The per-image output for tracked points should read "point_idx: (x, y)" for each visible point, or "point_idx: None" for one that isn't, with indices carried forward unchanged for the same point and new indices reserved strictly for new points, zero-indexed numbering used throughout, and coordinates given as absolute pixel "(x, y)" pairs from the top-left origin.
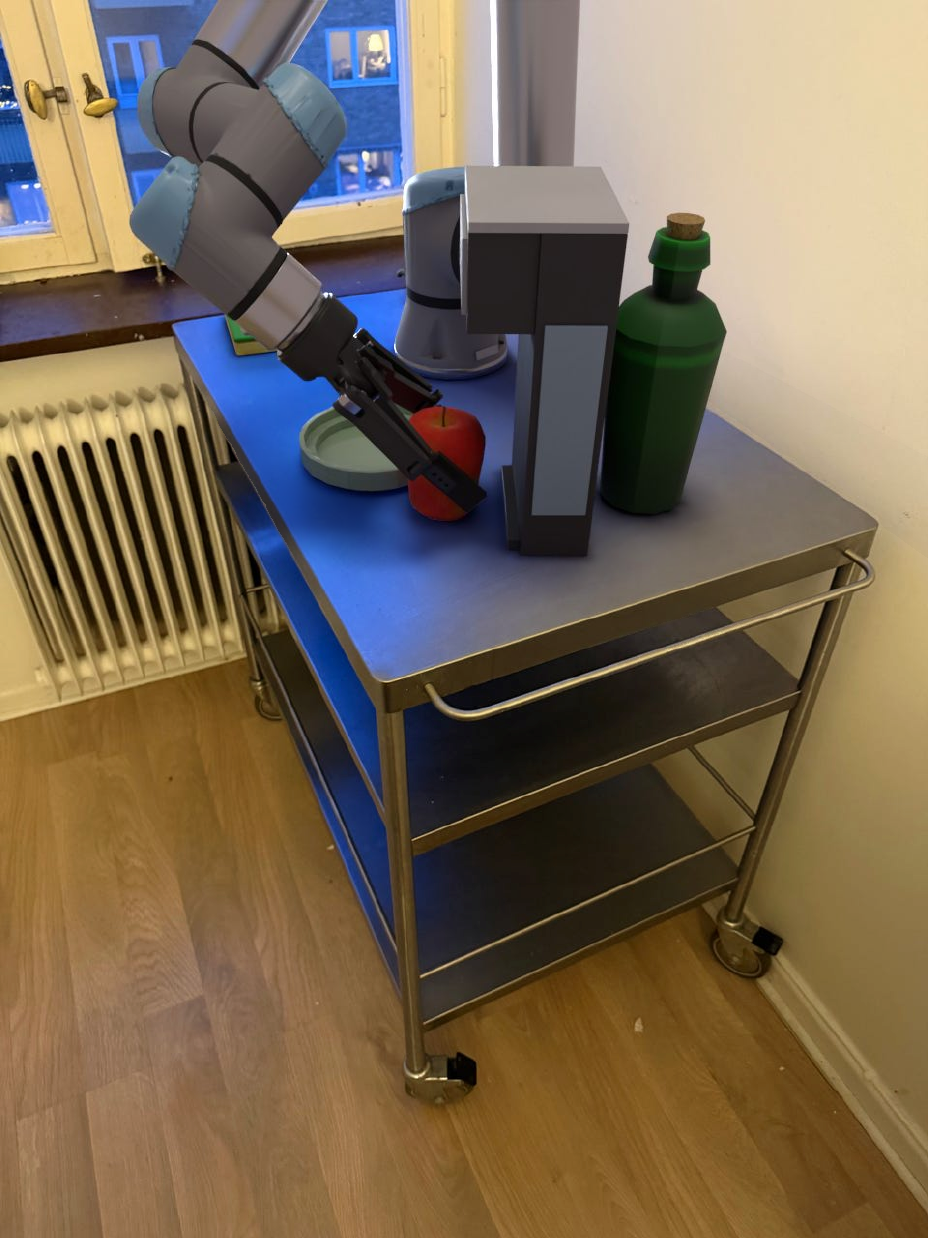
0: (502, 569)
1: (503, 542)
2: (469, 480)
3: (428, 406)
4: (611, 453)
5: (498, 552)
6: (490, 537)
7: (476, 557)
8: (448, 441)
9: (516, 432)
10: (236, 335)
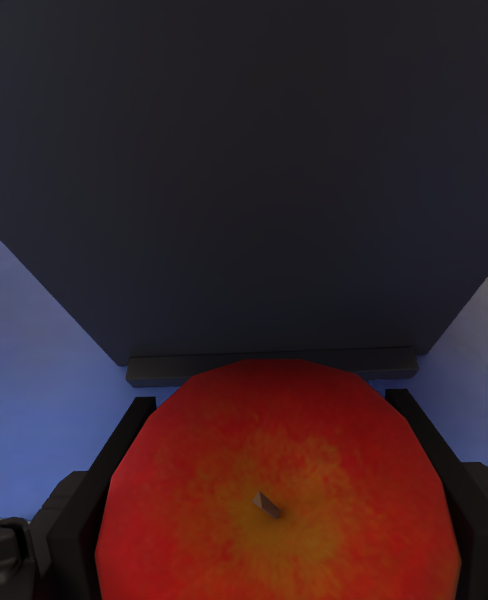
0: (480, 389)
1: (386, 386)
2: (430, 425)
3: (43, 598)
4: None
5: (423, 396)
6: None
7: (453, 443)
8: (421, 485)
9: (154, 297)
10: None
